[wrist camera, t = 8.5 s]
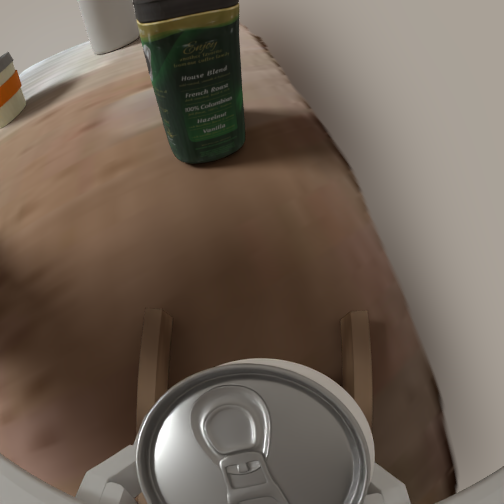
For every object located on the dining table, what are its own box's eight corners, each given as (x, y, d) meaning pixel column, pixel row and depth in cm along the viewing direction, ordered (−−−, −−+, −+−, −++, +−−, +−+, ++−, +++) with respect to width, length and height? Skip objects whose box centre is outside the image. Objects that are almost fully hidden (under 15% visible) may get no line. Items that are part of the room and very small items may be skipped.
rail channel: (348, 535, 11) (357, 549, 9) (154, 531, 11) (143, 543, 9) (355, 319, 19) (367, 310, 17) (157, 317, 19) (145, 307, 17)
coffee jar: (256, 153, 27) (252, -36, 10) (178, 176, 26) (125, -14, 9) (227, 105, 31) (214, -37, 14) (164, 123, 30) (128, -19, 13)
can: (322, 368, 16) (331, 304, 6) (356, 455, 13) (417, 529, 3) (228, 400, 16) (102, 378, 6) (256, 486, 13) (165, 574, 3)
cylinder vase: (108, 56, 45) (83, -31, 22) (86, 55, 48) (63, -19, 26) (149, 34, 49) (133, -47, 27) (124, 34, 53) (107, -36, 30)
